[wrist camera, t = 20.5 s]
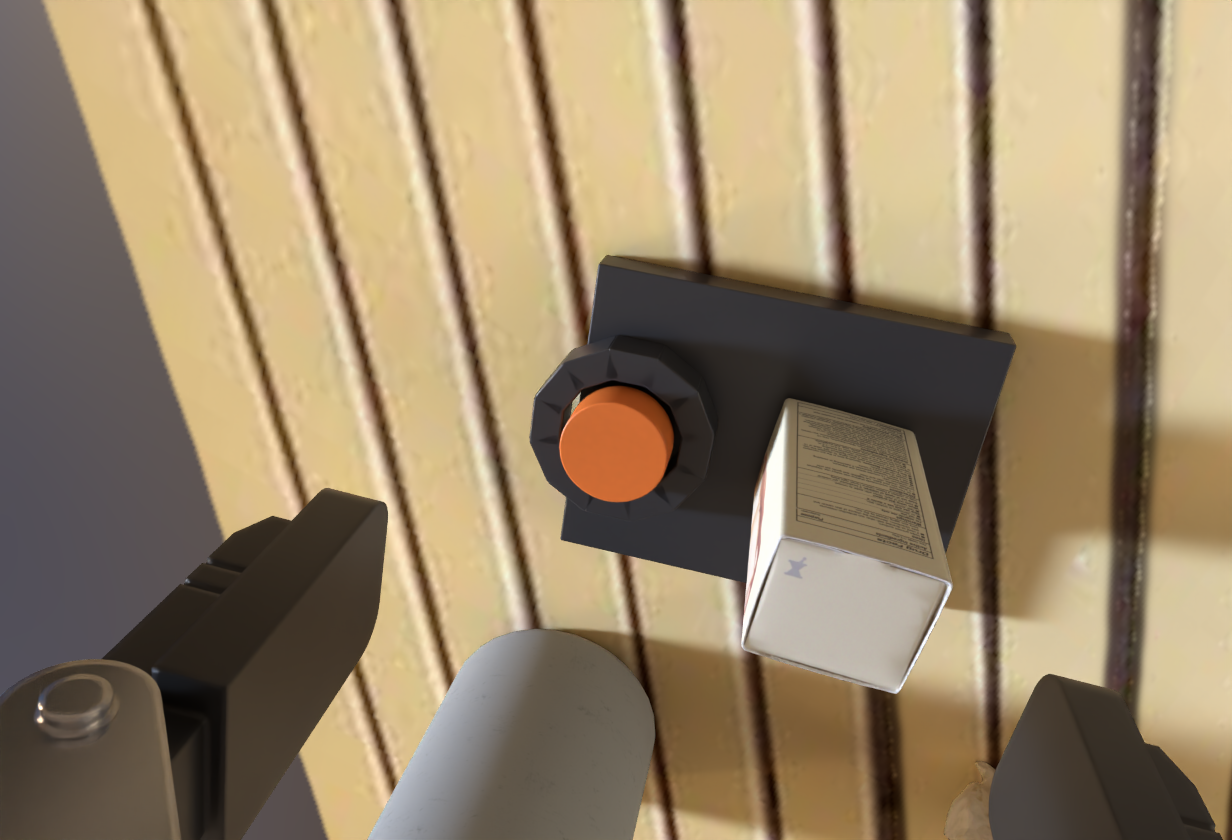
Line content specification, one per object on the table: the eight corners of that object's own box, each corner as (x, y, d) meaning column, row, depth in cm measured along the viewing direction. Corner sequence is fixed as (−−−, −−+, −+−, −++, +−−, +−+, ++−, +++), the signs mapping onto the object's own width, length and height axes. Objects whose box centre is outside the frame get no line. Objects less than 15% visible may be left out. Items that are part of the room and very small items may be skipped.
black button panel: (535, 516, 42) (515, 552, 39) (569, 247, 36) (548, 266, 34) (918, 604, 40) (925, 648, 37) (1010, 333, 35) (1026, 361, 32)
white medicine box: (751, 491, 37) (729, 648, 28) (785, 392, 36) (772, 526, 27) (881, 531, 37) (900, 703, 28) (923, 432, 35) (958, 582, 26)
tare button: (564, 469, 37) (552, 489, 36) (577, 375, 36) (565, 392, 34) (664, 491, 37) (657, 513, 35) (682, 397, 35) (676, 415, 34)
